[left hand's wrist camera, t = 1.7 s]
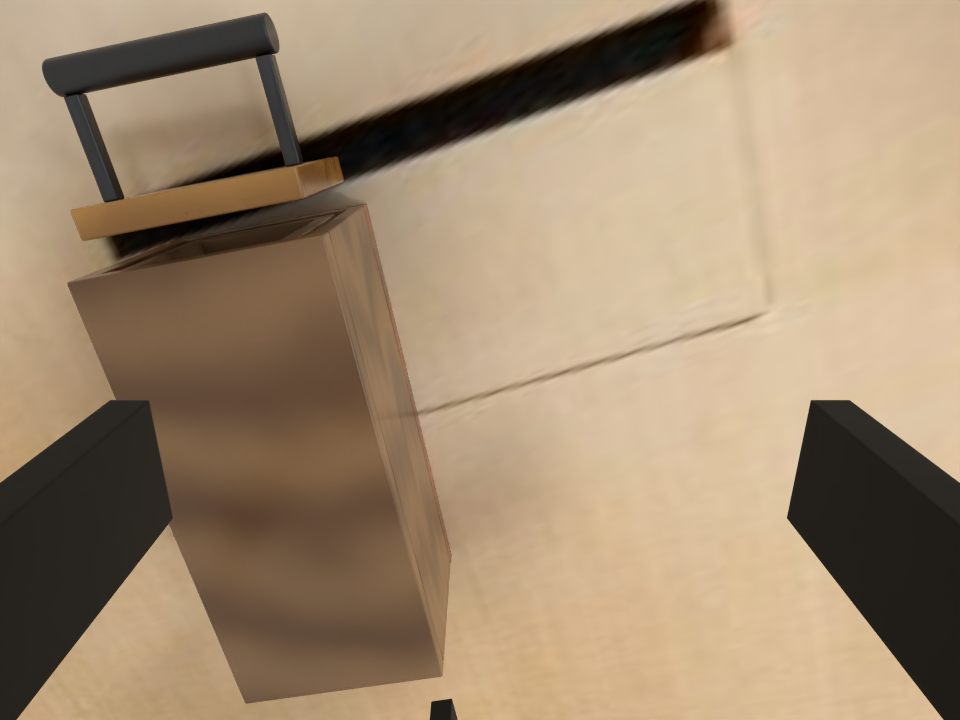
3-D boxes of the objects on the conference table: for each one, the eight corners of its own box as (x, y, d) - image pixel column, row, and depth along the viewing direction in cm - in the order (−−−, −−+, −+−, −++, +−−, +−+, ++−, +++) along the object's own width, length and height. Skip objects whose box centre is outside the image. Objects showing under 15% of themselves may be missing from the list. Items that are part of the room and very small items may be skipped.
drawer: (119, 70, 29) (5, 53, 22) (306, 31, 28) (249, 1, 21) (284, 538, 38) (240, 631, 31) (428, 516, 37) (416, 606, 30)
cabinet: (176, 239, 32) (65, 282, 24) (366, 203, 32) (323, 234, 23) (296, 578, 40) (244, 704, 31) (451, 555, 39) (443, 677, 31)
